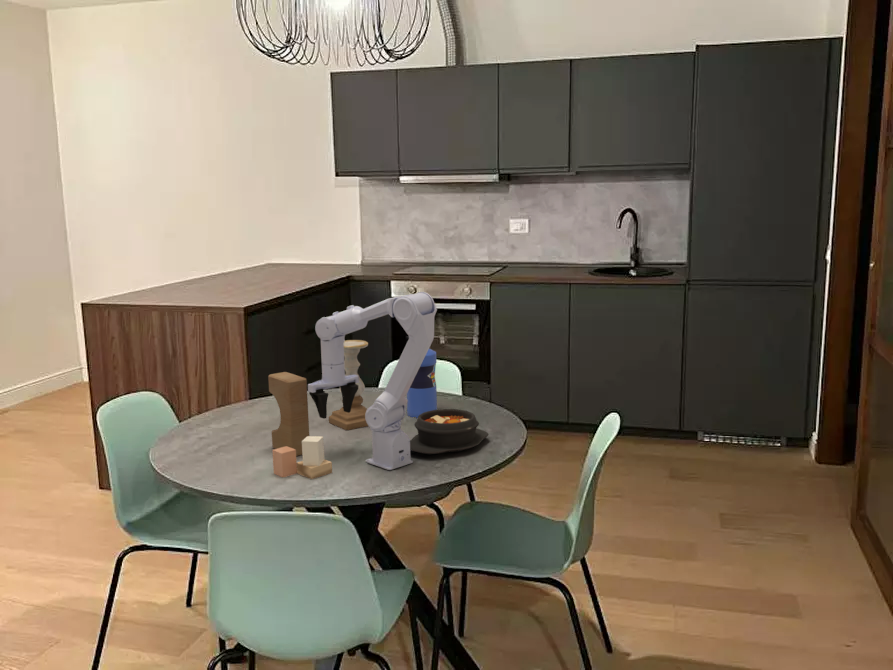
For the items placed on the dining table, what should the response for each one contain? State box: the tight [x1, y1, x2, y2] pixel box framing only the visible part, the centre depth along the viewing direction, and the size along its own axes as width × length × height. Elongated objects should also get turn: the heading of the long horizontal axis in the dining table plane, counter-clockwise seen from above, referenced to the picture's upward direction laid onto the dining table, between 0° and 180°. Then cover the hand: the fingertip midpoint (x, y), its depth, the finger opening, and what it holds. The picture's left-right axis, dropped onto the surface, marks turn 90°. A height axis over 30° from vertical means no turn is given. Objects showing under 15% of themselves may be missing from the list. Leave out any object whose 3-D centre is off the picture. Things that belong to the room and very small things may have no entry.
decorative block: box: [267, 371, 310, 457], centre depth 211 cm, size 11×6×20 cm, turn 38°
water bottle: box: [406, 348, 438, 419], centre depth 243 cm, size 9×9×25 cm
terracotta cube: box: [272, 446, 297, 478], centre depth 195 cm, size 4×4×6 cm
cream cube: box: [301, 435, 325, 466], centre depth 194 cm, size 4×4×6 cm
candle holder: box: [328, 339, 369, 431], centre depth 235 cm, size 11×11×24 cm
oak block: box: [296, 458, 333, 480], centre depth 195 cm, size 6×6×3 cm
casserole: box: [410, 408, 489, 455], centre depth 213 cm, size 25×19×8 cm
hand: (335, 414), depth 208 cm, fingers open, 7 cm apart
